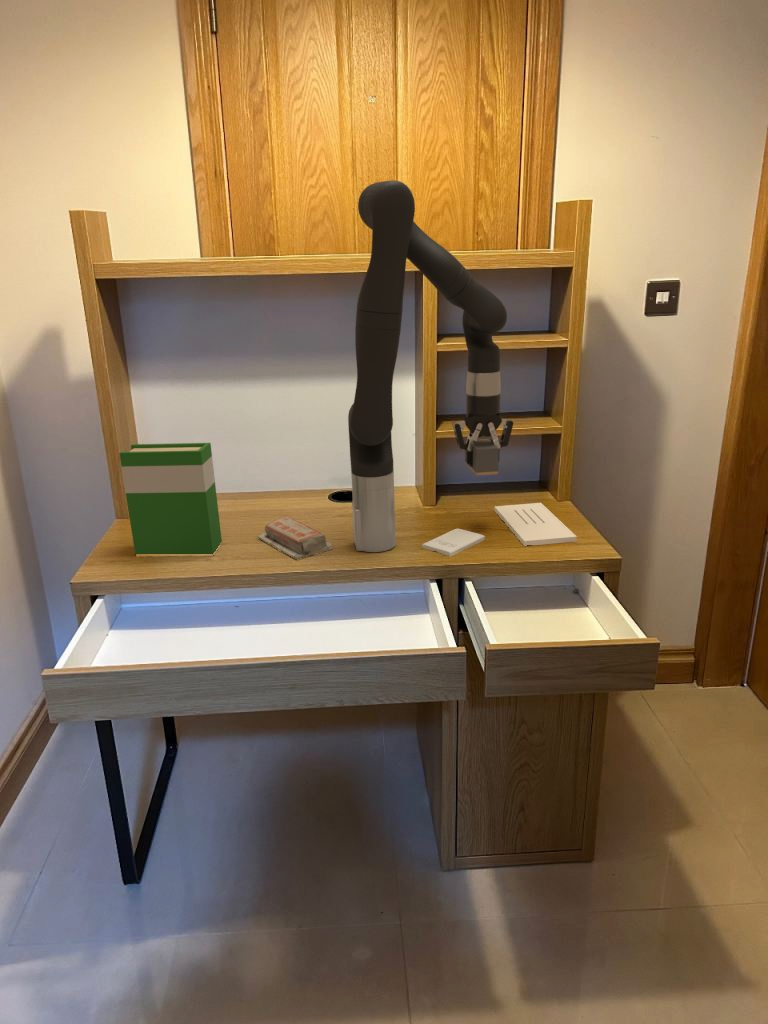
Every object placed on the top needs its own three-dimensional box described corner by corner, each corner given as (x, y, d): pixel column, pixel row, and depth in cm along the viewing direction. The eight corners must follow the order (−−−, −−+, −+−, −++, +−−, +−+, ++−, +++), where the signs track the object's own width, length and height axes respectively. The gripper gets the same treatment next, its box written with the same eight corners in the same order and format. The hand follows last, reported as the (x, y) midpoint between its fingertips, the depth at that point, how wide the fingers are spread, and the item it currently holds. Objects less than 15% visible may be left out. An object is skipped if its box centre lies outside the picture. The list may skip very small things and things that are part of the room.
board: (524, 546, 165) (524, 540, 165) (494, 510, 188) (494, 506, 187) (576, 541, 167) (576, 536, 166) (540, 507, 189) (540, 502, 189)
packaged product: (333, 530, 167) (294, 542, 161) (334, 550, 168) (296, 562, 163) (292, 510, 180) (255, 520, 175) (293, 529, 182) (257, 540, 176)
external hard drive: (484, 542, 170) (450, 558, 162) (456, 534, 175) (421, 550, 167) (484, 535, 170) (450, 551, 161) (456, 527, 175) (421, 543, 167)
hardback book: (135, 557, 168) (119, 452, 160) (147, 544, 175) (132, 444, 167) (213, 556, 166) (200, 451, 159) (222, 543, 173) (210, 442, 166)
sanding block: (498, 473, 169) (498, 448, 167) (476, 475, 169) (476, 449, 167) (487, 463, 178) (487, 438, 176) (466, 464, 177) (466, 439, 175)
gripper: (455, 396, 163) (455, 471, 168) (519, 392, 164) (517, 467, 170) (448, 390, 170) (448, 463, 175) (509, 387, 172) (507, 459, 177)
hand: (482, 464), depth 173 cm, fingers closed on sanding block, 5 cm apart
